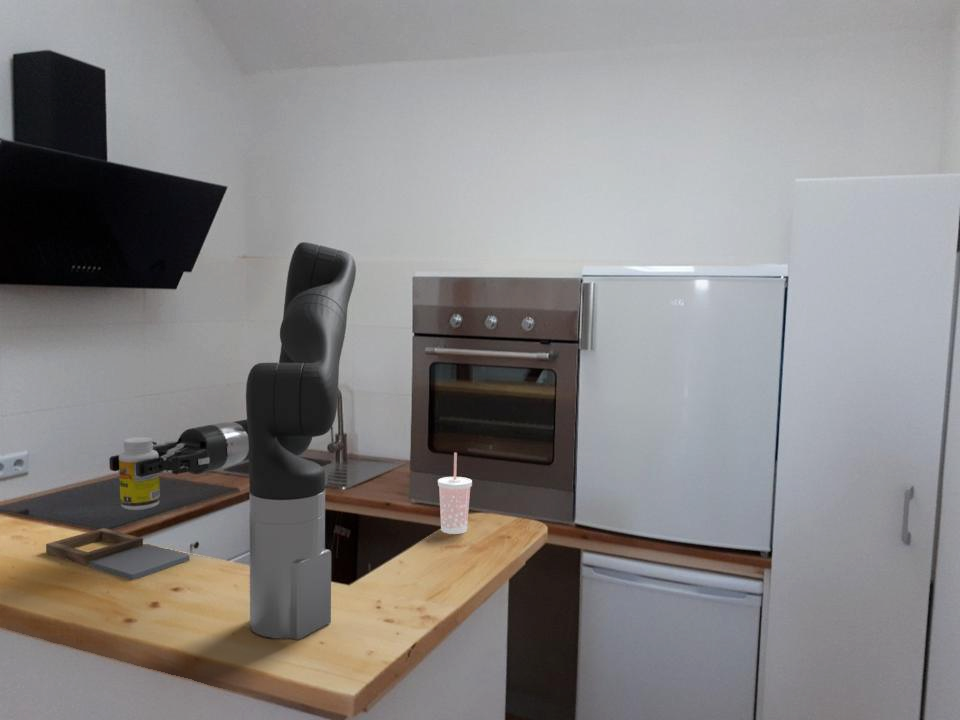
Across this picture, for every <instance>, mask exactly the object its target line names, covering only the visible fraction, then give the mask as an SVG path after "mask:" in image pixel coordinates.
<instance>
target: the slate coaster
mask: <svg viewBox="0 0 960 720" xmlns="http://www.w3.org/2000/svg"><path fill="white" fill-rule="evenodd" d="M189 561H190V555H189V554H186V553H183V552H178V551H175V550H172V549H167V548H164V547H160V546H157V545H153V544H149V543H146V544H143V545H141V546H138V547H135V548H132V549H129V550H125V551H122V552H119V553H116V554H112V555H109V556H106V557H103V558H100V559H96V560H93V561H90V564H89V567H90V568H92V569H96V570H99V571H102V572H104V573H109V574H112V575H115V576H117V577H118V576H119V577H122V578H125V579H128V580H132V581H134V580H137V579H140V578H142V577H146V576H148V575H151V574H154V573H157V572H160V571H162V570H166V569H169V568H172V567H174V566H177V565H180V564H182V563H185V562H189Z"/></svg>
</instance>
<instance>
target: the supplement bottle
mask: <svg viewBox="0 0 960 720" xmlns="http://www.w3.org/2000/svg"><path fill="white" fill-rule="evenodd" d="M152 442H153V438H152V437H146V436H145V437H143V436H141V437H132V438H131V437H130V438H127V439H124V441H123V451H122V452H121V453H120V454H118V455H119V470H118V474H119V476H118V477H119V497H120V501H119V502H120V506H121V508H123V509H125V510H129V511H130V510H132V511H138V510H139V511H140V510H147V509H151V508H153V507H156V506H158V505H159V504H160V500H161V493H160V492H161V489H160V488H161V485H160V481H161V480H160V479H161V478H160V473H156V474H152V475H148V476H143V477H139V476H137V475H136V463H137V462H139V461H143V460H148V459H152V458H159V455H158V452H157V451H155V450H152V449H153V444H152Z"/></svg>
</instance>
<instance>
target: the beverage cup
mask: <svg viewBox="0 0 960 720" xmlns="http://www.w3.org/2000/svg"><path fill="white" fill-rule="evenodd" d="M457 458H458V452H454V453H453V476H444V477H441V478H439V479H437V486H438V487H439V488H438V489H439V491H438V492H439V510H440V531H441V532H442V533H445V534H449V535H459V534H464V533H467V530H468V520H469V508H470V495H471V494H470V493H471V487H473V486H472V485H473V480H472V479H471V478H468V477H463V476H457V467H458V465H457V461H458V459H457Z"/></svg>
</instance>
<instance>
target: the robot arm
mask: <svg viewBox="0 0 960 720" xmlns="http://www.w3.org/2000/svg"><path fill="white" fill-rule="evenodd" d="M356 272H357V265H356V262H355V259H354V257H353V256H352V255H351V254H350V253H348V252H347V251H343V250H342V249H341V250H340V249H336V248H333V247H328V246H325V245H324V246H323V245H319V244H315V243H312V242H306V241H303V242H299V243H298V244H297V245H296V247H295V248H294V250H293V253H292V256H291V259H290V262H289V266H288V271H287V278H286V287H285V295H284V296H285V297H284V304H283V316H282V321H281V325H280V327H279V339H280V343H281V344H280V345H281V346H280V353H279V359H278V362H259V363H256V364H254V365H253V366H252V368H250V370H249V373H248V376H247V379H246V387H245V408H246V409H245V410H246V419H241V420H237V421H230V422H220V423H219V422H218V423H213V424H207V425H203V426H202V425H201V426H198V427H192V428H187V429H186V430H184V431H183V432H182V433H181V434H180V435H179V437H178V439H177V441H176V440H175V441H174V440H173V441H171V440H170V441H165V442H164V443H157V442H156V441H152V444H153V449H152V450H155V451H157V452H158V455H159V458H152V459H148V460H143V461H139V462H137V463H136V475H137V476H139V477H143V476H148V475H152V474H156V473H159V474H160V473H161V474H163V475H165V474H168V473H169V474H170V473H172V474H173V475H179V474H184V473H189V474H192V475H200V474H201V475H202V474H204V473H208V472H212V471H216V470H220V469H224V468H228V467H232V466H233V465H235V464H238V463H241V462H246V461H248V477H249V479H248V481H249V628H250V629H251V631H252V632H253V633H255V634H256V635H259V636H262V637H265V638H266V637H267V638H274V639H275V638H276V639H294V640H300V639H302V638H305V637H306V636H308V635H310V634H311V633H313V632H316V631H317V630H319V629H321V628H323V627H324V626H326V625H328V624H331V622H332V617H331V616H332V551H331V550H330V549H327V548H326V472H325V469H324V468H323V467H322V466H321V465H320V464H318V463H317V462H315V461H312V460H309V459H306V458H303V457H301V455H303V453H305V452H306V450H308V448H309V446H310V445H311V443H312V439H313V438H315V437H320V436H324V435H326V434H328V432H329V431H331V429H332V427H333V425H334V423H335V420H336V416H337V411H338V401H339V399H338V398H339V377H340V374H339V372H340V360H341V355H342V351H343V348H344V347H343V346H344V342H345V337H346V329H347V321H348V320H347V319H348V308H349V302H350V299H351V295H352V292H353V288H354V284H355V281H356ZM119 455H120V454H117V455H112V456H110V457H109V461H108V463H109V470H110V471H113V472H119Z"/></svg>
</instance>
